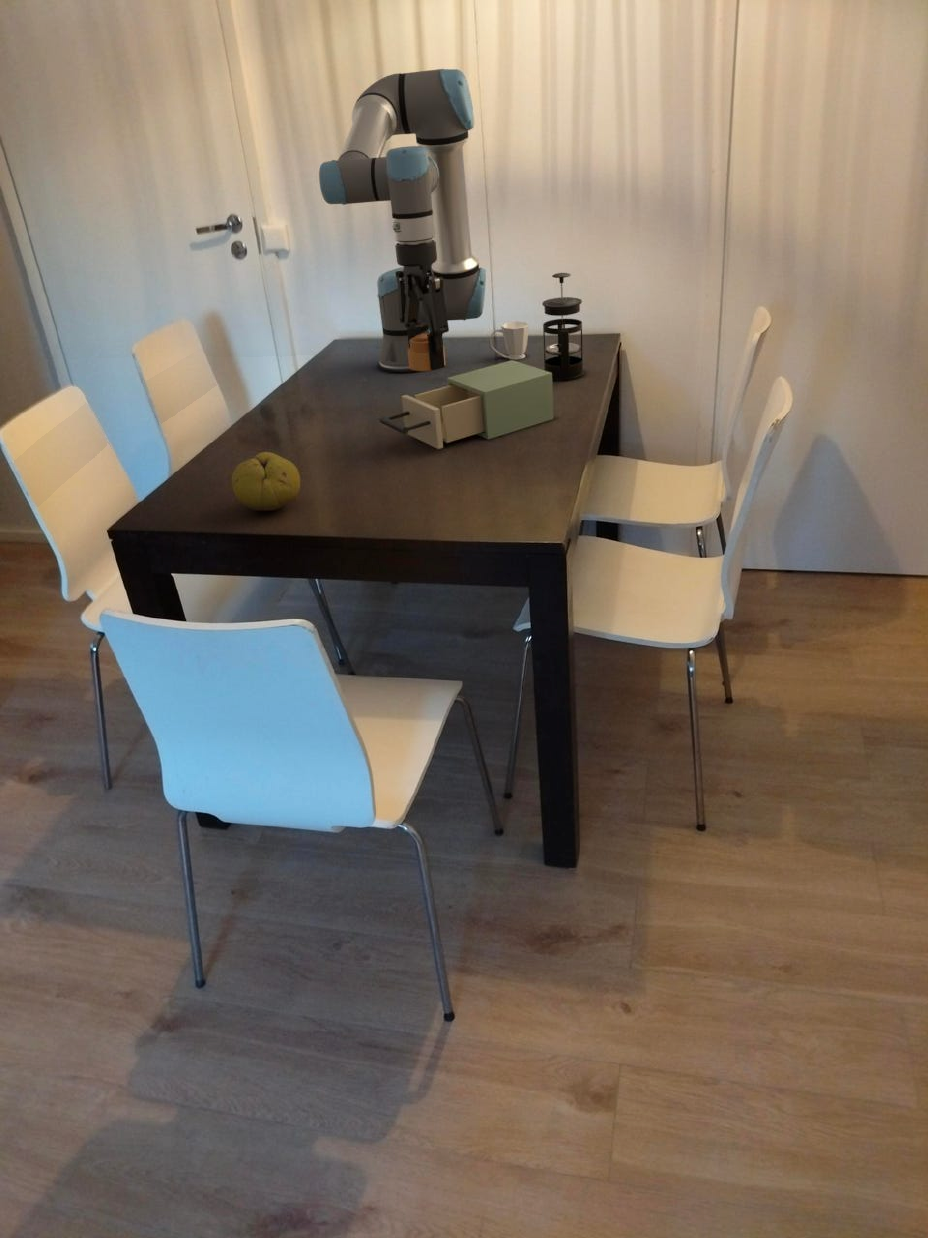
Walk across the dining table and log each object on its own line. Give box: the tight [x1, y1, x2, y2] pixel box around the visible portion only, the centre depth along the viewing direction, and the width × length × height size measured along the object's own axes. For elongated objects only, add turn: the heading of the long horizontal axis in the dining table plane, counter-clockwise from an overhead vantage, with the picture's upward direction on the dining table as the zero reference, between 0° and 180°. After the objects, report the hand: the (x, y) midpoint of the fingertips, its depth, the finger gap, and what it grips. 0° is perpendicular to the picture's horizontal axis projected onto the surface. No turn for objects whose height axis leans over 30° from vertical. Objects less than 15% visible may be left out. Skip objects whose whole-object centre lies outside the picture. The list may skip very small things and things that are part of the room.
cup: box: [489, 321, 530, 361], centre depth 235 cm, size 7×10×8 cm
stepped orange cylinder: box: [407, 332, 446, 372], centre depth 182 cm, size 7×7×6 cm
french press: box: [541, 272, 585, 382], centre depth 215 cm, size 12×9×23 cm
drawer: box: [379, 384, 485, 450], centre depth 187 cm, size 22×13×8 cm, turn 124°
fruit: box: [231, 451, 301, 512], centre depth 164 cm, size 11×12×10 cm
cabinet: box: [446, 359, 554, 440], centre depth 194 cm, size 17×14×10 cm
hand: (427, 364), depth 183 cm, fingers closed on stepped orange cylinder, 7 cm apart
